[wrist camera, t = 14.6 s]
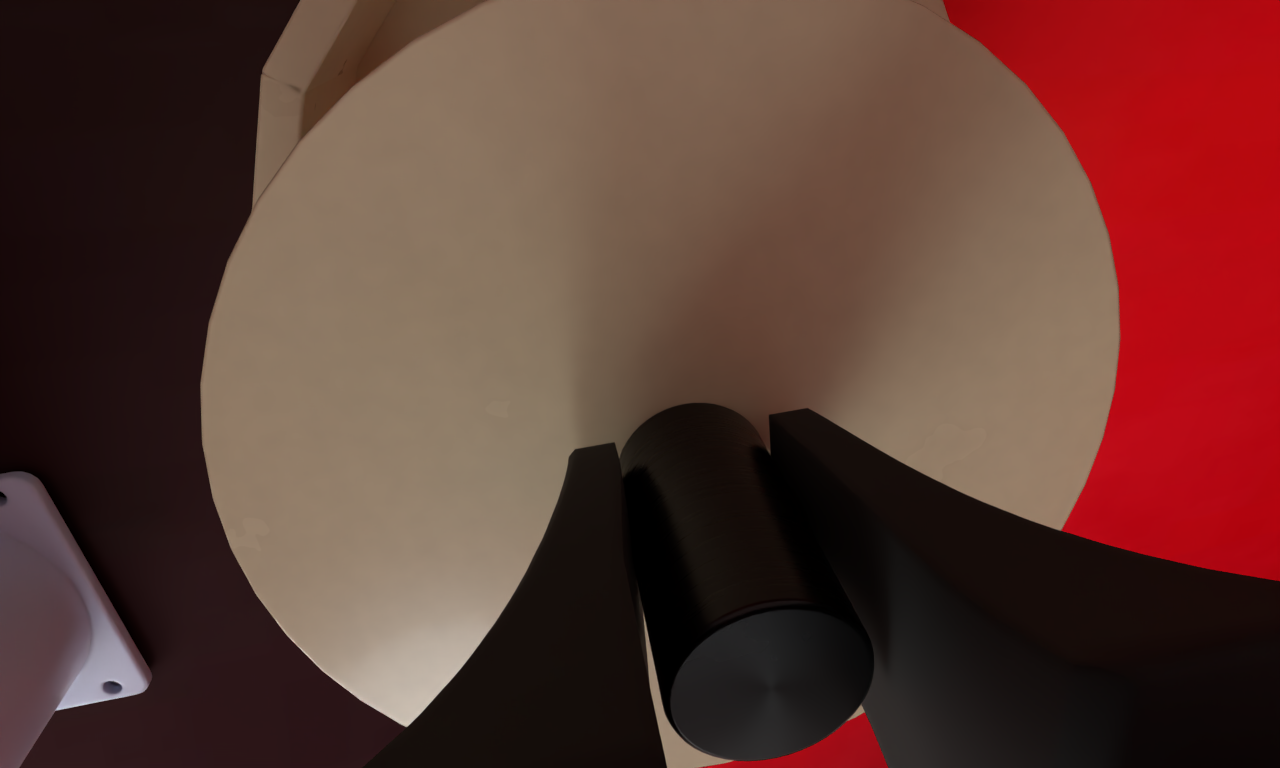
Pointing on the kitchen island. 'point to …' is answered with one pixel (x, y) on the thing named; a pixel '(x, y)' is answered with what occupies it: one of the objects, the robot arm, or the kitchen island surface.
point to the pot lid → (648, 333)
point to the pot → (342, 63)
